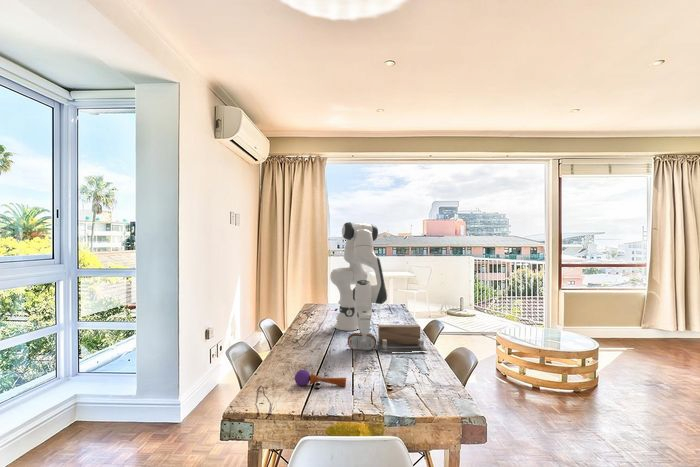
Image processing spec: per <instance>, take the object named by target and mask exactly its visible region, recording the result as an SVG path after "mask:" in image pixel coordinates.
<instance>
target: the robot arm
mask: <svg viewBox="0 0 700 467" xmlns="http://www.w3.org/2000/svg"><path fill="white" fill-rule="evenodd" d="M341 234H342V235H341V236H342V237H343V239H345V240H346V241H345V245H344V253H343V258H344V261H345V262H346V263H348V264H349V266H348V267H338V268H335V269H332V270H331V272H330V275H329V276H330V281H331V283H333V285H335V287H336V288H337V289H338V292H339V299H340V300H339V303H340V305H339V308H338V309H339V313H338V314H337V316H336V323H335V324H334V325H333V329H335V328H336V329H337V330H340V331H350V332H351V331H358V330H359V333H362V341H363V342H366V336H367V334H370V328H371V327H370V326H371V319H372V312H373V311H372V310H373V308H372V307H373V306H372V304H376V305H382V304H384V303H385V302H386V301H387V300H388V291H387V288H386V284H385V279H384V273H383V268H382V263H381V259H380V258H379V257H378V256H377V255H376V253H375V251H374V242H375V241H376V240H377V239H378V236H379V229H378V227H377V226H376V225H375V224H373V223H372V224H370V223H365V222H351V221H349V222H345V223H344V224H343V225H342V228H341ZM363 265H364V266H367V267H369V268H371V269H372V270H373V271H374V274H375V279H376V284H375V285H372V284H371V282H370V281H369V280H368V271H367V270H366V269H365V268H364V267H363ZM351 285H355V286H354V288H353V289H352V288H351ZM336 329H335V330H336ZM357 329H358V330H357Z"/></svg>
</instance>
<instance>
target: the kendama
mask: <svg viewBox="0 0 700 467" xmlns="http://www.w3.org/2000/svg"><path fill="white" fill-rule="evenodd" d="M294 381H295V383H296V385H297V386H301V387H304V386H307V385H308V384H309V385H312V384H315V383H318V382H322V383H327V384H331V385H336V386H341V387H344V386H346V385H347V377H319V376H318V375H316V374H314V373H313V372H311V373H310V372H309V371H308V370H306V369H300V370H297V372H296V373H295V375H294ZM346 387H347V386H346Z"/></svg>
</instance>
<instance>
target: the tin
mask: <svg viewBox="0 0 700 467" xmlns="http://www.w3.org/2000/svg"><path fill="white" fill-rule="evenodd" d="M377 341H378V340H377V338H376V337H375V335H374V334H371V333H369V334H367V336H366V342H363V341H362V333H360V332H353V333H351V334H349V335H348V338H347V345H348V347H349V349H350V350H353V351H365V350H371V351H373V350H374V349H375V348H376V345H377Z"/></svg>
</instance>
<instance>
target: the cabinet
mask: <svg viewBox="0 0 700 467" xmlns="http://www.w3.org/2000/svg"><path fill="white" fill-rule="evenodd" d="M377 332H378V334H377V336H378V337H377V340H376V341H377V343H376V345H377V344H378V345H377V346H379V347H378V348H380V349H379V351H380V350H381V351H380V352H382V353H392V352H412V351H427V352H428V350H427V348H425V347H424V339H423V338H422V339H421V326H420V325H419V324H378V331H377ZM382 353H381V354H382Z"/></svg>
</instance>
